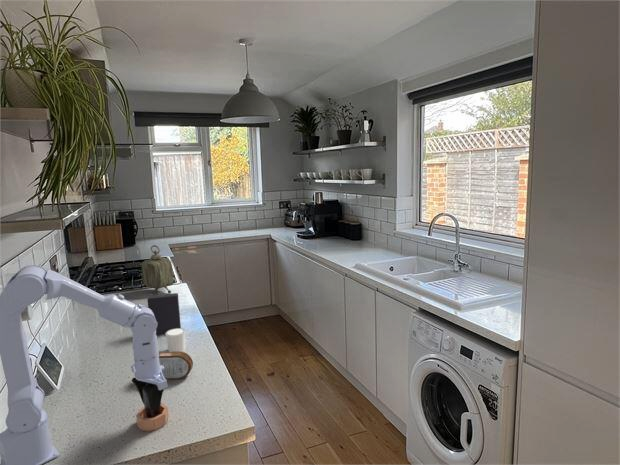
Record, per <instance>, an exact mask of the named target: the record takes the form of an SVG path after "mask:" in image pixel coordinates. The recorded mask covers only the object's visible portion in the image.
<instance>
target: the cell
mask: <svg viewBox="0 0 620 465" xmlns="http://www.w3.org/2000/svg"><path fill="white" fill-rule="evenodd" d="M148 384H150V383H148ZM146 385H147V384H146ZM142 390H143V389H142ZM143 399H144V404H143V407H144V408H145V416H146V417H147V418H153V417H156V416H158V415H159V413H160V409H159V408H157V409H155V410H151V408H150V405H149V401H148V397H147V395H146V393H145V391H144V390H143Z"/></svg>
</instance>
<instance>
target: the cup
mask: <svg viewBox="0 0 620 465" xmlns="http://www.w3.org/2000/svg"><path fill="white" fill-rule="evenodd" d="M159 409H160V413H159V415H158V416H156V417H153V418H147V417H146V416H145V408H144V406H143V407H142V408H139V410H138V412H136V413H137V414H136V415H135V417H136V419H135V420H136V425H137V427H138V428H139V430H141V431H143V432H153V431H156V430H159V429H161V428H162V427H164V426H165V425H167V422H168V421H169V416H170V415H169V414H170V413H169V407H168V406H167V405H165V404H164V403H163V402H161V404H160V407H159Z"/></svg>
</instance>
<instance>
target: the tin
mask: <svg viewBox="0 0 620 465" xmlns="http://www.w3.org/2000/svg"><path fill="white" fill-rule="evenodd" d="M158 352H159V363H160V365H162V366H164V370H162V373H163V376H164V378H165V379H166V380H182V379H185V378H186V377H188V375H189V374H190V373H191V372H192V369H193V366H194V362H193V359H192V356H190V355H189V354H188V353H187V352H185V351H183V352H181V351H174V352H169V351H158Z"/></svg>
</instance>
